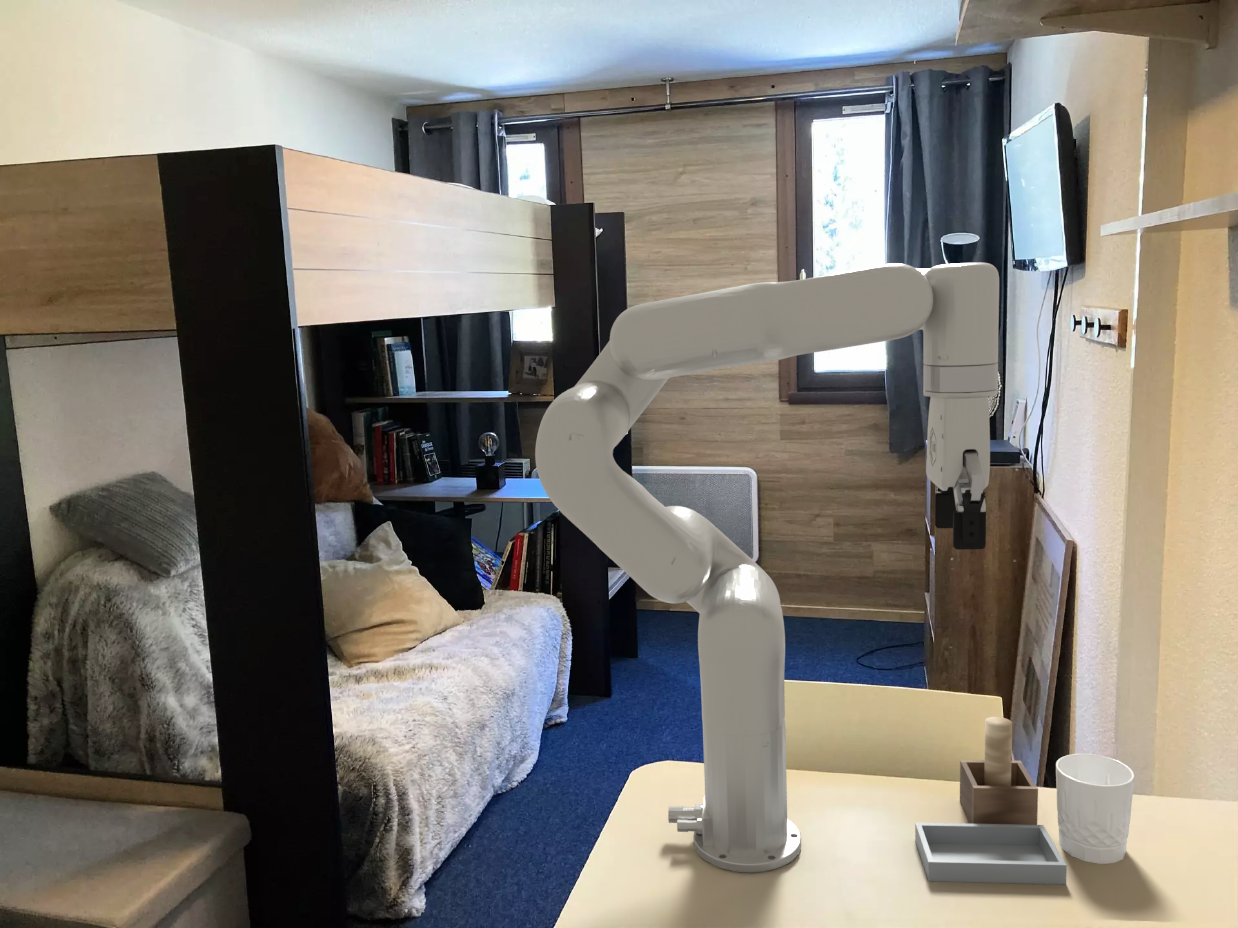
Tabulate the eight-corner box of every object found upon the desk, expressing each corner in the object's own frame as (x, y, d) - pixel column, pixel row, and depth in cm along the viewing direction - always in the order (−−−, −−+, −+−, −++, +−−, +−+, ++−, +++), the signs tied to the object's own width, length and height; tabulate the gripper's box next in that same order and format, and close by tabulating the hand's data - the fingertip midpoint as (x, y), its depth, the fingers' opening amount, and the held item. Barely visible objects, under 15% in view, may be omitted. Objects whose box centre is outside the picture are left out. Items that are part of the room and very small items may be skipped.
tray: (928, 885, 107) (928, 861, 107) (915, 844, 115) (915, 822, 115) (1066, 889, 105) (1066, 864, 105) (1042, 847, 113) (1043, 824, 113)
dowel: (987, 821, 118) (988, 727, 116) (981, 809, 121) (982, 716, 119) (1013, 822, 118) (1015, 727, 116) (1006, 809, 121) (1008, 716, 119)
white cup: (1140, 873, 107) (1143, 787, 106) (1062, 868, 109) (1064, 783, 107) (1119, 835, 115) (1122, 754, 113) (1047, 831, 117) (1049, 751, 115)
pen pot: (973, 835, 116) (973, 787, 115) (959, 804, 123) (960, 759, 122) (1036, 836, 115) (1037, 788, 115) (1019, 805, 123) (1020, 760, 122)
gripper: (910, 376, 114) (910, 521, 117) (939, 389, 97) (939, 558, 100) (977, 374, 113) (975, 519, 116) (1019, 386, 96) (1016, 557, 99)
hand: (958, 537), depth 108 cm, fingers open, 9 cm apart
